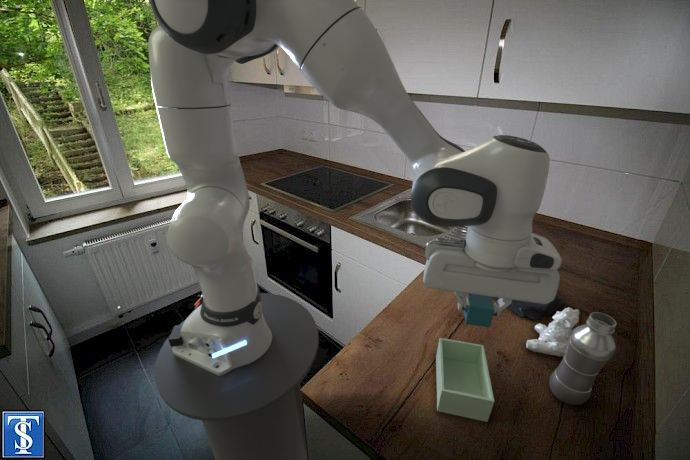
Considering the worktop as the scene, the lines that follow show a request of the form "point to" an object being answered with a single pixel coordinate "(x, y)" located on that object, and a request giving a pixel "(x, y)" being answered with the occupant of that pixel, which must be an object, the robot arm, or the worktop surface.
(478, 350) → the bin
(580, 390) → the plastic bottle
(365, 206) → the worktop surface
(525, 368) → the worktop surface
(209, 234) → the robot arm
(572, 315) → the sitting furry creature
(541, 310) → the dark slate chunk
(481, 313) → the block
